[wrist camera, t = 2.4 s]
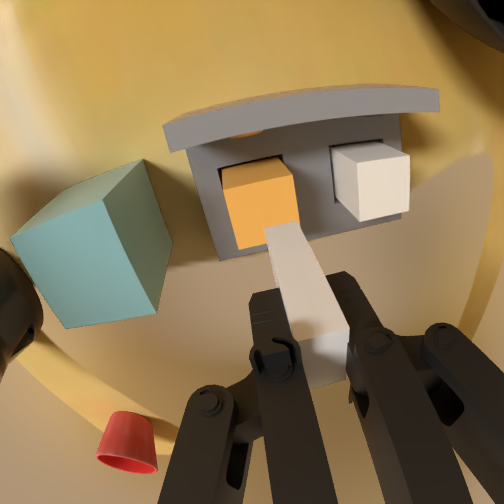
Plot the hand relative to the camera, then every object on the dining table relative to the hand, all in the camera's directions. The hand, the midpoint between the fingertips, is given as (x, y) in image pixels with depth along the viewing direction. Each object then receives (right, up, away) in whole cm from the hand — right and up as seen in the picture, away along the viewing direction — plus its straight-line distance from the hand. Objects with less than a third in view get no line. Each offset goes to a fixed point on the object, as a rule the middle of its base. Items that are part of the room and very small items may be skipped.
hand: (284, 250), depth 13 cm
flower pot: (-23, -31, +29) cm, 48 cm away
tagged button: (-1, +5, +8) cm, 9 cm away
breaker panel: (+2, +7, +9) cm, 12 cm away
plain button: (+6, +6, +7) cm, 12 cm away
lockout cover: (-13, +3, +10) cm, 17 cm away
